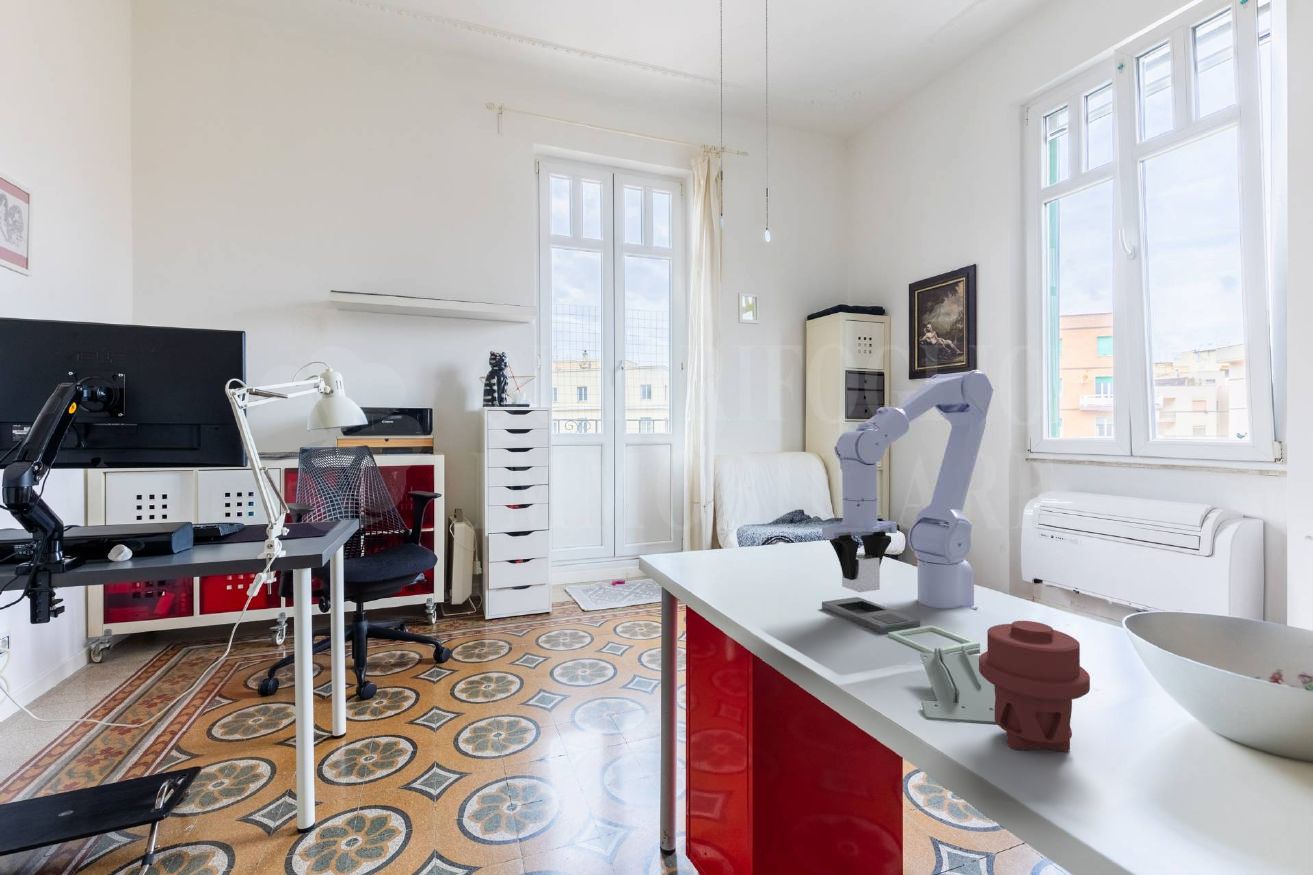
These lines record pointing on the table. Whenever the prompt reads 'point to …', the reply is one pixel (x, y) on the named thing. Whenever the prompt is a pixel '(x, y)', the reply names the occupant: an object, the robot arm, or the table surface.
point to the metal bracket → (958, 689)
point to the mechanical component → (1034, 683)
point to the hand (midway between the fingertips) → (860, 577)
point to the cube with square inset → (864, 574)
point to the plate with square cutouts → (870, 615)
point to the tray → (967, 642)
